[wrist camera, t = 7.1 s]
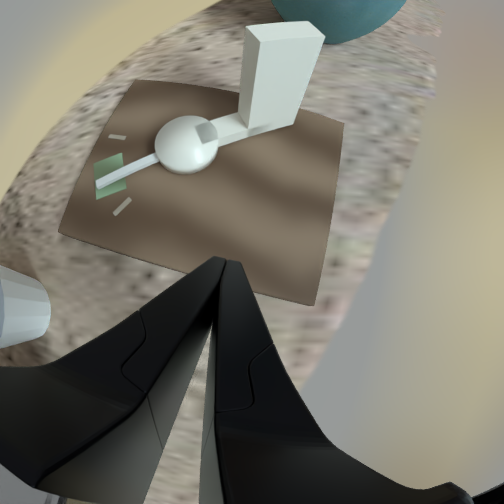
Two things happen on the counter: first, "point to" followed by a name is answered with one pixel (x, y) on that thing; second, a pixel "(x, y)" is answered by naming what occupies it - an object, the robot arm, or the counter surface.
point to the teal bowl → (339, 16)
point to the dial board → (213, 193)
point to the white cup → (22, 308)
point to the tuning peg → (242, 100)
